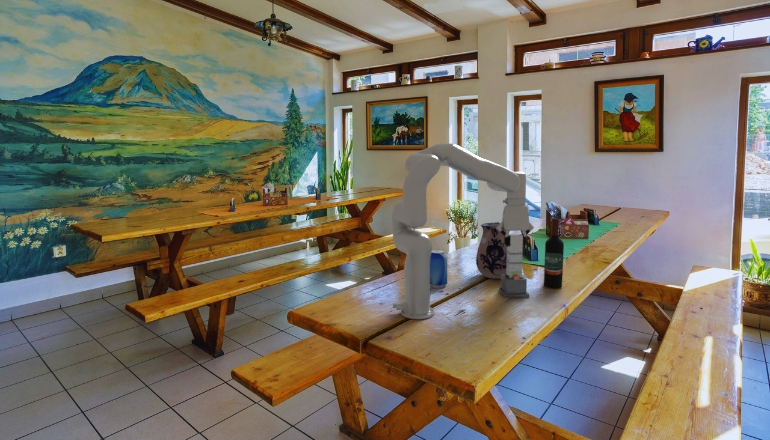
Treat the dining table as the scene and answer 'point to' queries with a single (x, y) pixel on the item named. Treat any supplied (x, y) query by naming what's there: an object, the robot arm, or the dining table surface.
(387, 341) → the dining table surface
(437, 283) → the beer can
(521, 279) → the stand base
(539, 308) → the dining table surface
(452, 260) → the dining table surface
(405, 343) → the dining table surface
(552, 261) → the wine bottle
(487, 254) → the ceramic pitcher
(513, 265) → the column
